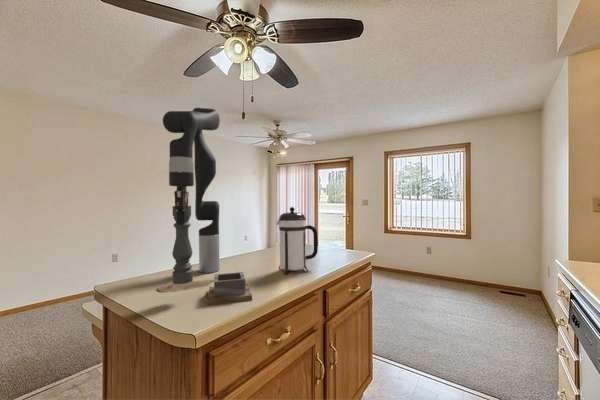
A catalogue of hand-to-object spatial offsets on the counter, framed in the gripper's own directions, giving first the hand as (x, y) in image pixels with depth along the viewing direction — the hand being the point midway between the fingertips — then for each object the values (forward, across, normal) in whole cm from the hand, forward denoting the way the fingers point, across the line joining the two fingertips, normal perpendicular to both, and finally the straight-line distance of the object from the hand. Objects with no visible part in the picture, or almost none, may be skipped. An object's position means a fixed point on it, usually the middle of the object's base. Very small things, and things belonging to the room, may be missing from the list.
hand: (182, 222), depth 91 cm
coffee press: (+27, -27, +46) cm, 60 cm away
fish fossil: (+27, -18, +2) cm, 32 cm away
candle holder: (+20, 0, 0) cm, 20 cm away
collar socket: (+26, -1, +15) cm, 30 cm away
